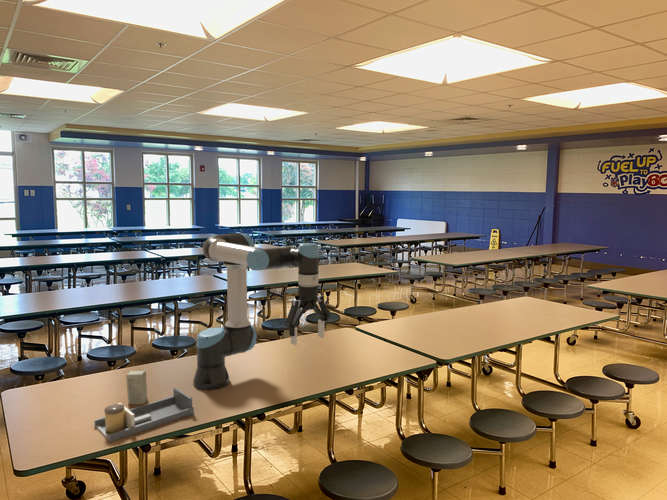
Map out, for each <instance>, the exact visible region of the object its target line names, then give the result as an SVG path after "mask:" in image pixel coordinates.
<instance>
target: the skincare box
mask: <svg viewBox="0 0 667 500" xmlns="http://www.w3.org/2000/svg"><path fill="white" fill-rule="evenodd" d="M146 373H147V372H146V370H130V371H129V372H128V373H126V374H125V377H126V390H127V391H126V393H127V403H128V405H145V404H146V402H147V401H148V390H147V389H148V387H147V385H148V384H147V374H146Z"/></svg>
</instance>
